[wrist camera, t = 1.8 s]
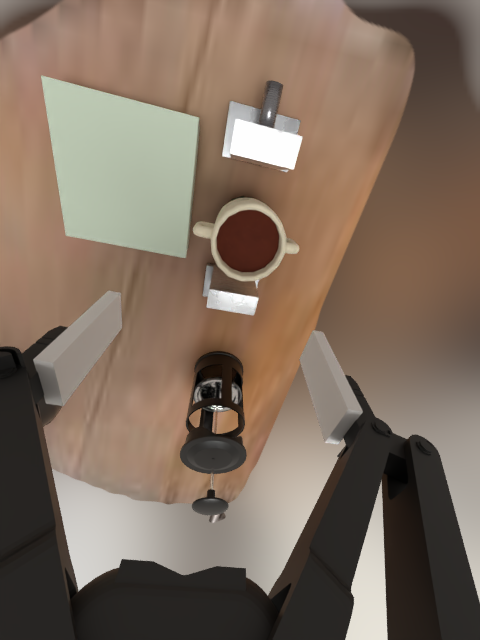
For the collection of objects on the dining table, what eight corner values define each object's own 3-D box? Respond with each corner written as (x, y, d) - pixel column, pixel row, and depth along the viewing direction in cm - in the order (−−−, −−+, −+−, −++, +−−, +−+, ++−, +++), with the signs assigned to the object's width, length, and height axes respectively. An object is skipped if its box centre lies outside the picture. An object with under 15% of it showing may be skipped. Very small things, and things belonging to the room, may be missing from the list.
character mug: (288, 201, 32) (318, 216, 21) (274, 254, 36) (293, 290, 25) (206, 183, 31) (192, 189, 20) (200, 240, 34) (185, 272, 23)
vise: (203, 293, 39) (196, 323, 31) (232, 88, 26) (232, 53, 19) (252, 301, 40) (256, 332, 32) (302, 108, 27) (329, 83, 20)
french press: (205, 342, 44) (183, 480, 24) (252, 357, 46) (268, 496, 26) (185, 385, 49) (155, 527, 30) (228, 397, 51) (227, 536, 32)
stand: (83, 229, 33) (65, 235, 30) (66, 88, 26) (40, 75, 22) (190, 250, 35) (185, 258, 32) (202, 124, 28) (198, 117, 24)
